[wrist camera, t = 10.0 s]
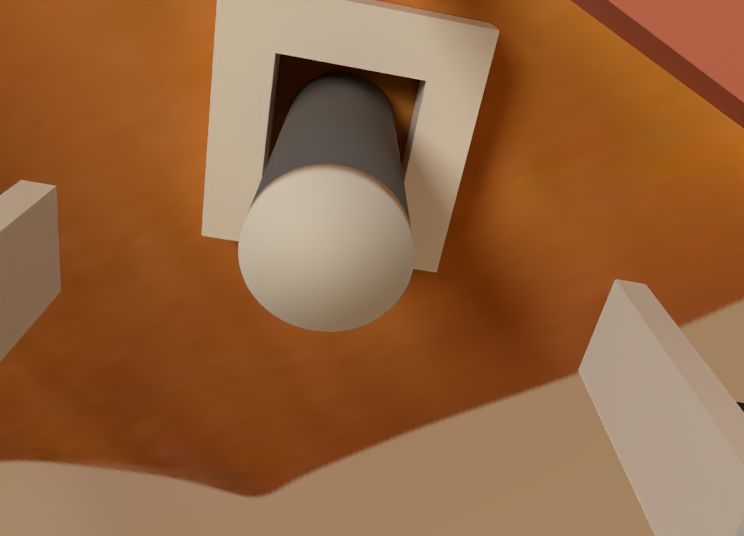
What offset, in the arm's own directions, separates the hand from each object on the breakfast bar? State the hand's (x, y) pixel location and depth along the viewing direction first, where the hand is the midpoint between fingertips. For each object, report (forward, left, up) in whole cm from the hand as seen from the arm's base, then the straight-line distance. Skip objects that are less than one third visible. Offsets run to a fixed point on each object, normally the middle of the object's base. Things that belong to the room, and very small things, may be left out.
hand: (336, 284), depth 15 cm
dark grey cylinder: (0, 0, -13) cm, 13 cm away
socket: (0, +3, -13) cm, 13 cm away
